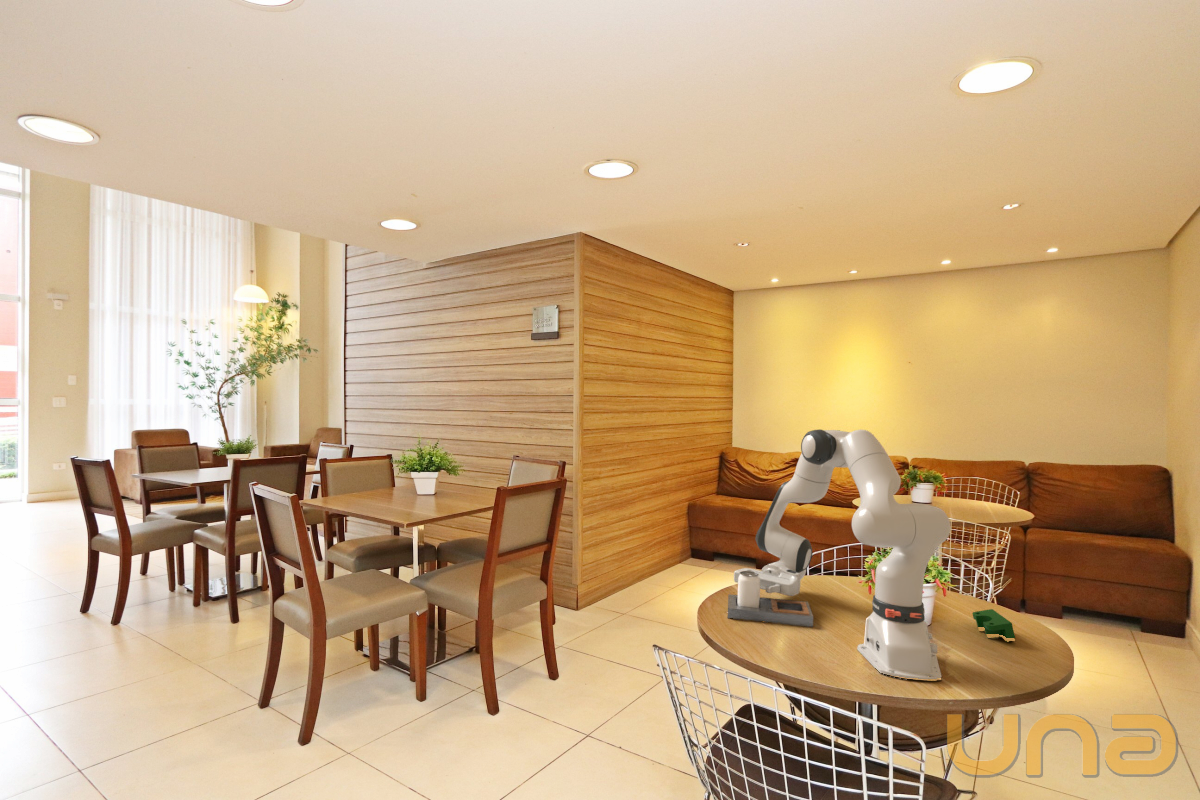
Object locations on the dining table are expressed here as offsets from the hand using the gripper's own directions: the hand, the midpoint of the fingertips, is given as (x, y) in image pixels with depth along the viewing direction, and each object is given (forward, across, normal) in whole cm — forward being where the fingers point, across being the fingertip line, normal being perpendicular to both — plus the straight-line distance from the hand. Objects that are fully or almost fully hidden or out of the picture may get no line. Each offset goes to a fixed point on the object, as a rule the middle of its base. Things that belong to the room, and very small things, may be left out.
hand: (753, 586), depth 190 cm
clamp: (-33, +57, +8) cm, 66 cm away
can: (+3, 0, +8) cm, 8 cm away
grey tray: (0, +5, +7) cm, 9 cm away
